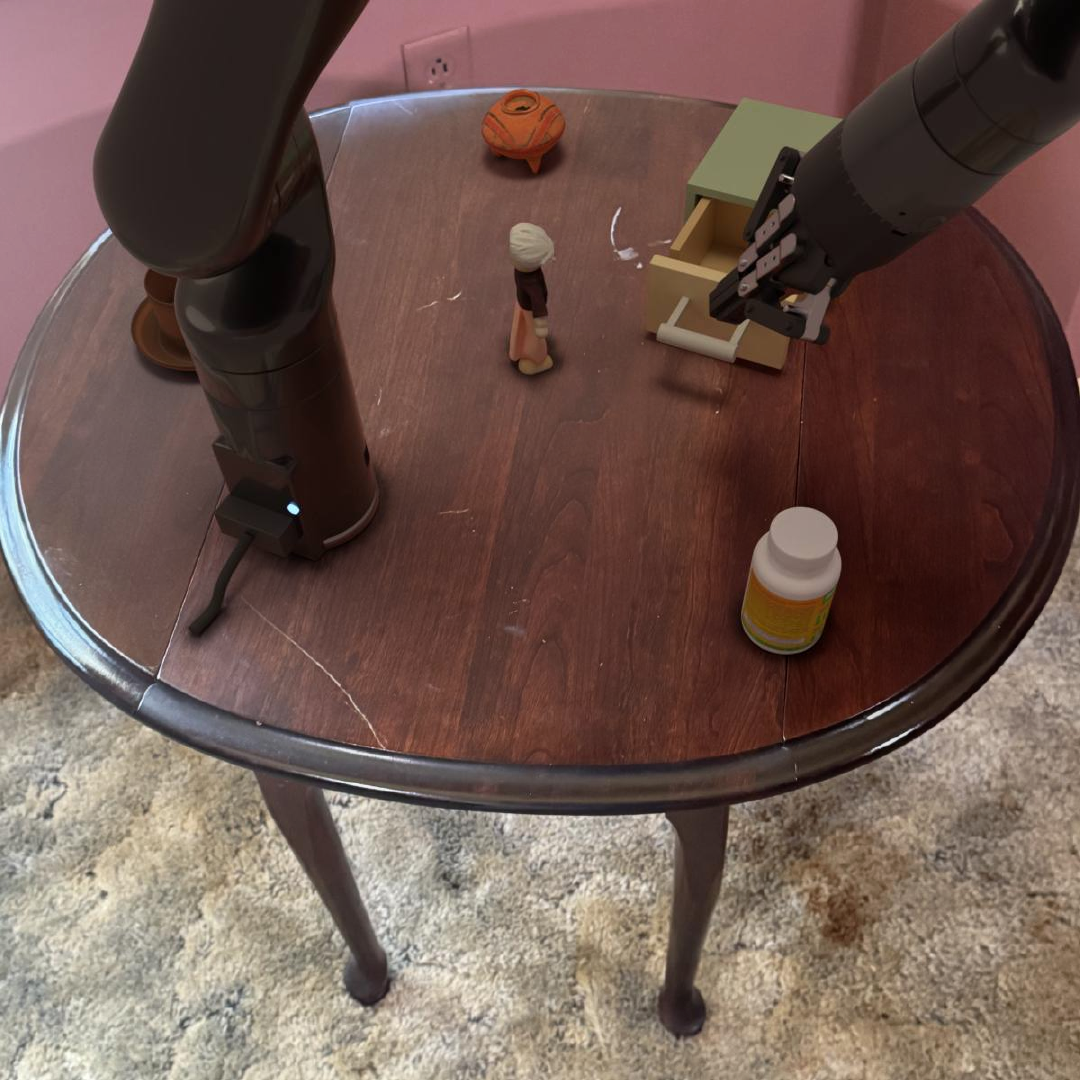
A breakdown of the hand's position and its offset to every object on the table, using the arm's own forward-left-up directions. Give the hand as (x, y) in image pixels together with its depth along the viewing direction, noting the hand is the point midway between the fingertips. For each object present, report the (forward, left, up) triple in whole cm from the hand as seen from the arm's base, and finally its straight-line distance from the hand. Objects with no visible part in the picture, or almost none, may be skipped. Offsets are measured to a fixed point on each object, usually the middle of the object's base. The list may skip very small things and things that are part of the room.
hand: (721, 310), depth 72 cm
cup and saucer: (-4, +42, -14) cm, 44 cm away
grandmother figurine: (+4, +16, -14) cm, 22 cm away
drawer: (+13, +3, -13) cm, 19 cm away
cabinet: (+26, +3, -14) cm, 29 cm away
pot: (+29, +29, -14) cm, 43 cm away
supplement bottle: (-12, -10, -14) cm, 21 cm away
